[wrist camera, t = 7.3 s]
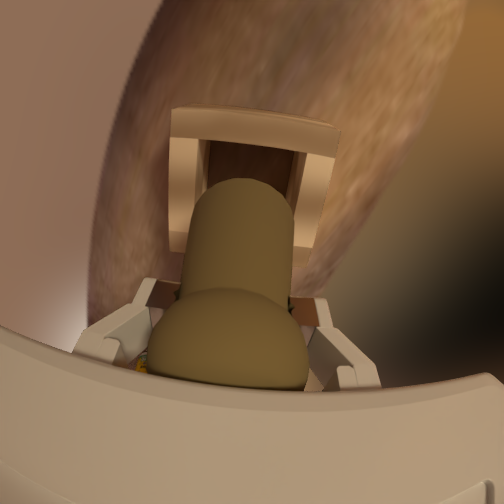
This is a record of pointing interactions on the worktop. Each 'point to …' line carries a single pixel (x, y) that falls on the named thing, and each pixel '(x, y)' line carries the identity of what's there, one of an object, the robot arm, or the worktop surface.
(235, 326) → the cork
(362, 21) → the worktop surface
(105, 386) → the robot arm
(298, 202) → the shaker holder
